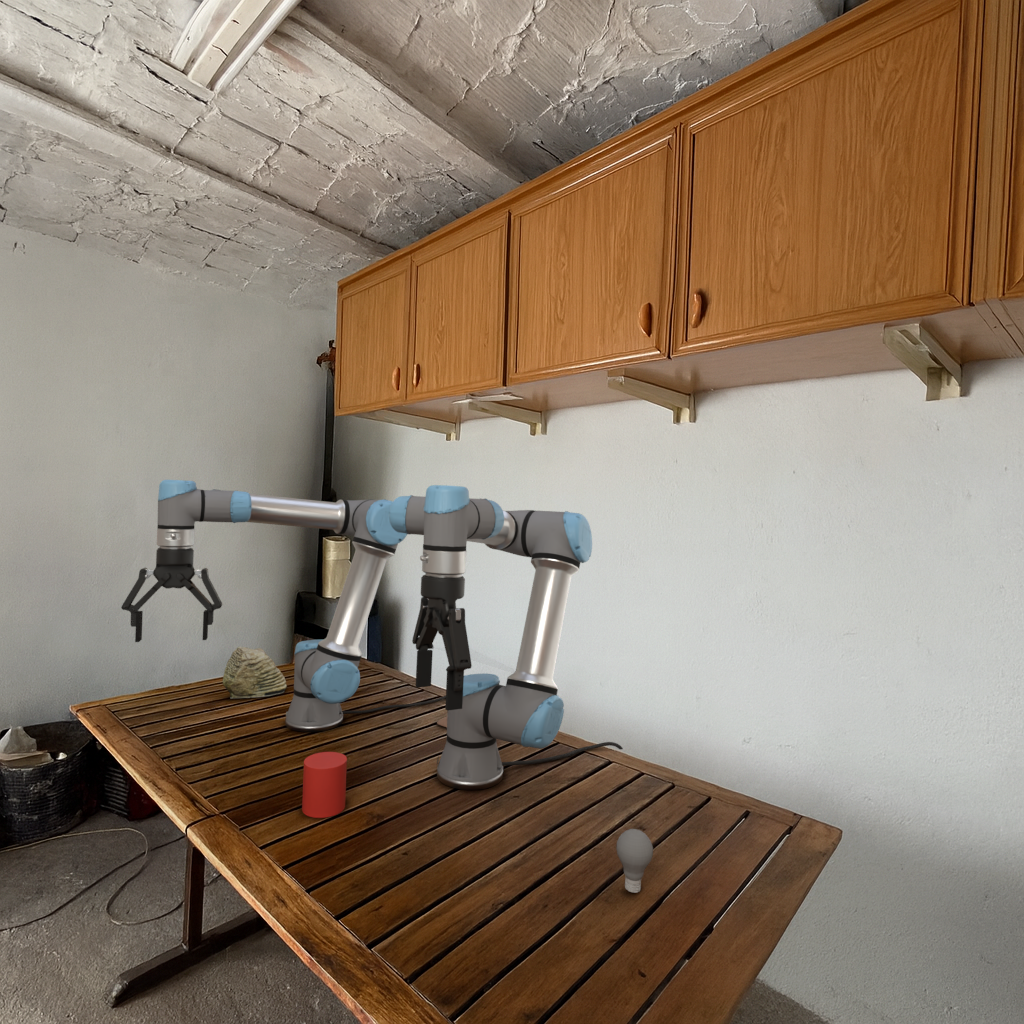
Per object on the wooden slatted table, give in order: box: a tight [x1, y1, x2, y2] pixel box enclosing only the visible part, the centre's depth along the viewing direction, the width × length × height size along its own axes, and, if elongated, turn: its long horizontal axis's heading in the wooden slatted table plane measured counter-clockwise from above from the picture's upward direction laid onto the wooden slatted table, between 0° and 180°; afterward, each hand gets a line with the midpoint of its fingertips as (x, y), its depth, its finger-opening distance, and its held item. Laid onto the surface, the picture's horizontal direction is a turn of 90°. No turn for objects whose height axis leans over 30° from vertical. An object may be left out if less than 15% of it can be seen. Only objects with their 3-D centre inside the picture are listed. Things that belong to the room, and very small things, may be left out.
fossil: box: [222, 646, 288, 699], centre depth 198 cm, size 9×18×15 cm, turn 132°
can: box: [301, 751, 348, 819], centre depth 129 cm, size 8×8×10 cm
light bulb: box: [615, 828, 654, 894], centre depth 106 cm, size 6×6×10 cm
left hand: (172, 640), depth 145 cm, fingers open, 13 cm apart
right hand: (437, 697), depth 110 cm, fingers open, 13 cm apart
